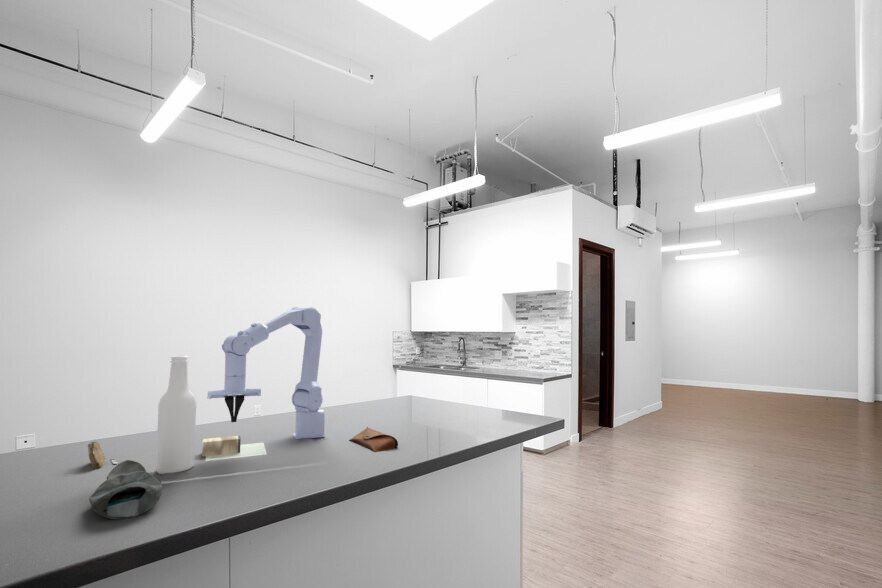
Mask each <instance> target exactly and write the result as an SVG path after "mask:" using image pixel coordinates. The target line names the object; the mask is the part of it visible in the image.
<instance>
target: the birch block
mask: <svg viewBox="0 0 882 588" xmlns="http://www.w3.org/2000/svg"><path fill="white" fill-rule="evenodd" d="M240 445H241V435H234V436H222V437H212V438H210V437H209V438H202V444H201V446H202V448H201V449H202V450H201V451H202V452H201V457H206V456H212V455H221V454H231V453H240Z"/></svg>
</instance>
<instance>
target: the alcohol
mask: <svg viewBox="0 0 882 588" xmlns="http://www.w3.org/2000/svg"><path fill="white" fill-rule="evenodd" d="M170 358H171V359H170V360H171V361H170V363H171V364H170V370H169V371H170V372H169V378H168V388H167V389H166V391H165V393H164V394H163V395H162V396H161V398H160V399H159V402H158V406H157V408H158V410H157V427H156V429H157V431H156V433H157V434H156V451H155V452H156V454H155V470H156V472H157V473H158V474H159V475H164V476H165V474H171V473H173V474H174V473H179V472H184V471H187V470H190V469H191V468H193V467H194V465H195V449H196V448H195V447H196V445H195V444H196V425H197V424H196V423H197V400H196V396H195V394H194V393H192V391H191V390H190V387H189V373H188V369H189V368H188V363H189V360H188V358H189V356H188V355H183V354H182V355H181V354H179V355H172V356H171V357H170Z"/></svg>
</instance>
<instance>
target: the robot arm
mask: <svg viewBox="0 0 882 588" xmlns="http://www.w3.org/2000/svg"><path fill="white" fill-rule="evenodd" d="M321 319H322V315H321V313H320V312H319V310H317V309H316V308H315V307H312V306H310V307H297V306H296V307H292V308H291V309H287V310H286V311H284V312H283V313H281V314H279V315H278V316H276V317H275V318H273V319H271V320H270V321H268V322H266V323H264V324H263V323H255V322H254V323H251V324H250V327H248V328H246V329H245V330H239V331H238V332H237V334H236V335H229V336H227V337H226V338H225V339H224V341H223V344H221V350H222V351H223V352H224V355H225V356H224V357H225V358H224V359H225V360H224V361H225V363H224V386H223V387H224V389H219V390H208V391H207V396H206V398H207V399H208V400H209V399H210V400H211V399H223V398H224V402H225V404H226V407H227V408H228V411H229V412H228V413H229V415H230V416H229V417H230V420H231V421H230V422H231V423H236V422H237V419H238V415H239V412H240V410H241V407H242V406H243V403H244V401H245V397H261V396H262V389H261V388H246V380H247V379H246V375H247V373H246V372H247V354H249V352H250V349H252V348H253V347H255V346H257V345H259V344H261V343H262V342H265V341H266V340H268V339H269V336H270V334H271V333H273V332H276V331H278V330H279V329H282V328H283V327H285V326H288V325H292V326H294V327H295V328H297V329H299V330H300V331H301V332H302V333H303V334H304V336H305V339H304V347H303V355H302V364H301V371H300V372H301V373H300V380H299V382H298V383H296V385H295V389H294V392H293V394H292V396H291V403H292V405H293V406H294V410H295V430H294V431H295V432H293V433H292V435H293V436H294V439H297V440H298V439H307V438H311V439H317V438H318V439H319V438H324V437H326V436H325V421H326V420H325V410H324V409H322V408H321V406H322V404H323V395H322V387H321V386H320V384H319V383H318V376H319V375H318V374H319V366H320V365H319V364H320V356H321V347H322V337H323V327H322V325H321V324H322V323H321Z"/></svg>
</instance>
